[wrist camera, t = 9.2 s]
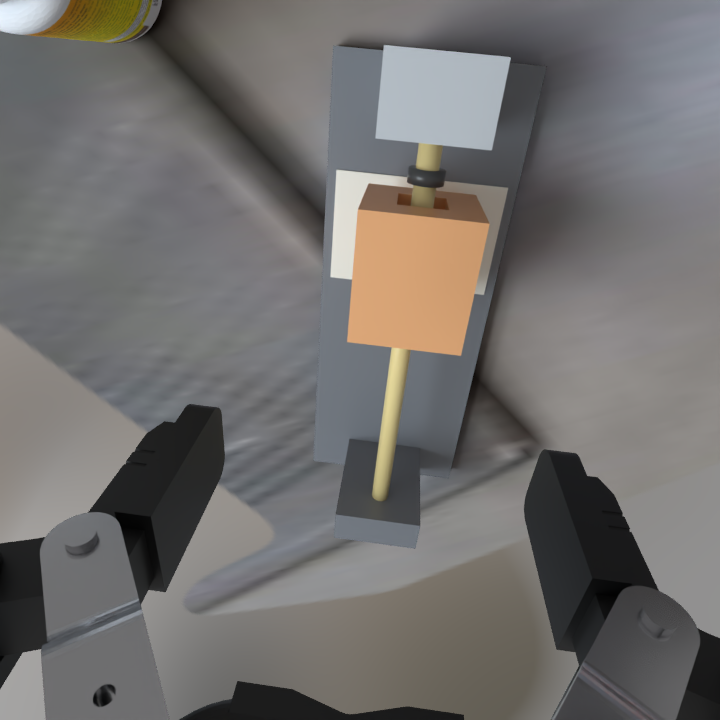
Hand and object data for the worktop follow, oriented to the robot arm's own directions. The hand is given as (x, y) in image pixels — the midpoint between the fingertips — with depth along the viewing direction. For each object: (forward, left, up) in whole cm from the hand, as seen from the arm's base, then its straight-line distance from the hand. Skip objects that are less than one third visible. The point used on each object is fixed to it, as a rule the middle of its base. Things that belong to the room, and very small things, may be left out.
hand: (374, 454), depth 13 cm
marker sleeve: (-1, +1, -15) cm, 16 cm away
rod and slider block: (+4, +1, -19) cm, 19 cm away
